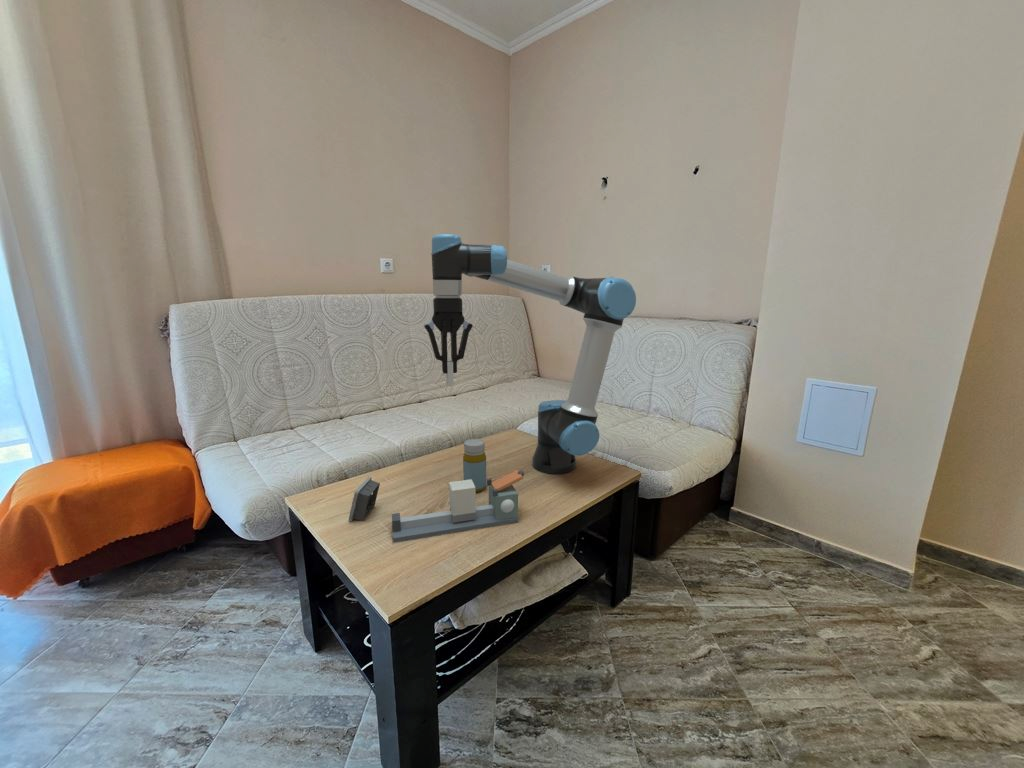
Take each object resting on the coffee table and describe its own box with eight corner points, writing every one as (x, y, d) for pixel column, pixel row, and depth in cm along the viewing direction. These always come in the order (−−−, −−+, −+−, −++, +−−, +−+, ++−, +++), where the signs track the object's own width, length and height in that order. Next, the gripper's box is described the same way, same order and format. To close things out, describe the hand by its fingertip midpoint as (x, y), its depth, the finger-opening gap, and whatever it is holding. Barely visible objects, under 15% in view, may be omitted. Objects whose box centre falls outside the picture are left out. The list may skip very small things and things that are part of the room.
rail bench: (509, 505, 119) (509, 474, 117) (518, 522, 110) (518, 488, 108) (392, 523, 110) (390, 489, 108) (393, 542, 101) (390, 506, 99)
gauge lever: (492, 486, 113) (522, 471, 115) (496, 493, 109) (527, 478, 111) (490, 481, 113) (520, 466, 114) (494, 488, 109) (525, 472, 110)
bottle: (483, 494, 125) (482, 447, 122) (460, 492, 127) (459, 445, 123) (488, 483, 132) (488, 439, 129) (467, 481, 133) (466, 437, 130)
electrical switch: (362, 504, 119) (363, 474, 117) (380, 506, 119) (381, 477, 117) (347, 522, 110) (348, 490, 108) (367, 525, 110) (367, 493, 108)
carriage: (472, 509, 113) (471, 479, 111) (476, 519, 109) (475, 487, 107) (450, 513, 112) (449, 482, 110) (453, 522, 107) (452, 490, 105)
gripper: (469, 296, 115) (470, 380, 120) (421, 296, 111) (424, 383, 116) (475, 297, 108) (476, 386, 113) (423, 297, 104) (427, 389, 109)
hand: (450, 384), depth 114 cm, fingers closed
